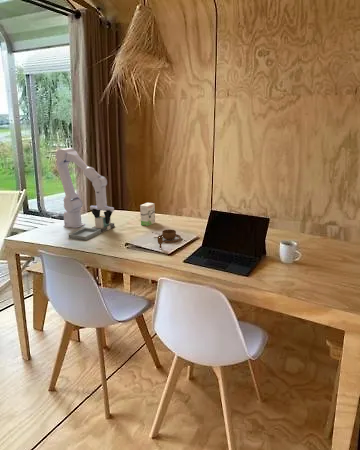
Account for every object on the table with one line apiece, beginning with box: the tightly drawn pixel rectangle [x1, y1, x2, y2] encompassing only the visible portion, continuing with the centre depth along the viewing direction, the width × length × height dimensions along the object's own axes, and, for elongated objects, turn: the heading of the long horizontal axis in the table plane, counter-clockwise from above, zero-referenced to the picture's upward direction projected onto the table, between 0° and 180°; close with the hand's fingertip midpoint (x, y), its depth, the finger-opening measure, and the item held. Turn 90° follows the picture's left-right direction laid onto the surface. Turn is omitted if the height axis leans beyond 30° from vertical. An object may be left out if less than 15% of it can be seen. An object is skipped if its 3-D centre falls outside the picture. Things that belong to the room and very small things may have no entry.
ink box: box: [139, 202, 156, 227], centre depth 212 cm, size 9×5×12 cm, turn 153°
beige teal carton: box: [94, 214, 112, 228], centre depth 205 cm, size 4×9×7 cm, turn 157°
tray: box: [68, 227, 102, 241], centre depth 194 cm, size 11×14×2 cm
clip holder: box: [91, 222, 115, 233], centre depth 206 cm, size 7×12×2 cm, turn 157°
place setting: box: [156, 228, 182, 249], centre depth 182 cm, size 18×20×6 cm
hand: (103, 222), depth 205 cm, fingers open, 6 cm apart
